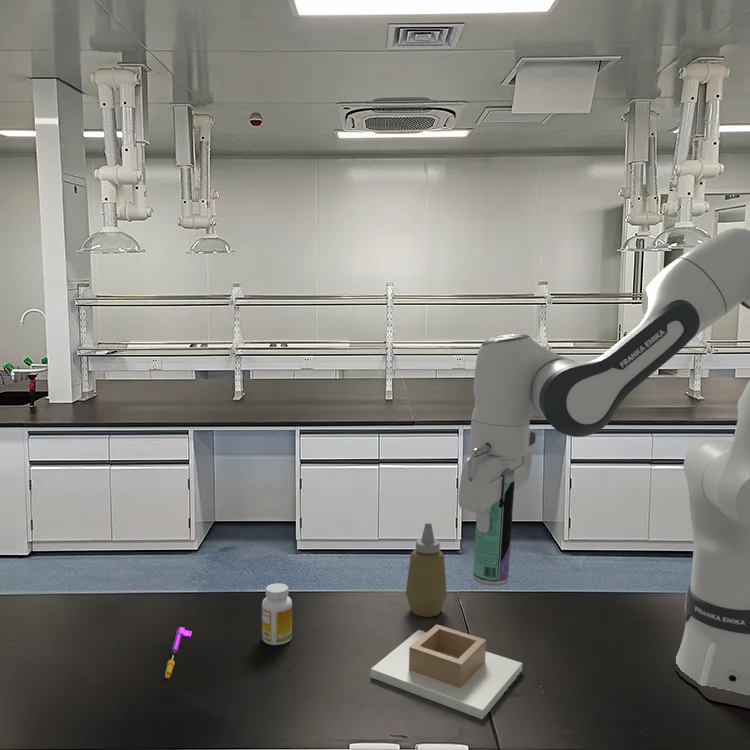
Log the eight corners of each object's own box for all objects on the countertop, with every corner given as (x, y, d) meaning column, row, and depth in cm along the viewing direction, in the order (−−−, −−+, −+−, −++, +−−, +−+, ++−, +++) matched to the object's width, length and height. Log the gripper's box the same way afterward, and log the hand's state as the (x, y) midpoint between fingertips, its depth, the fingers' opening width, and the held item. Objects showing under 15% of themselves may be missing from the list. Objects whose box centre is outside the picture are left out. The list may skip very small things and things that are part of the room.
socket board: (521, 671, 120) (523, 640, 120) (482, 719, 107) (483, 685, 106) (418, 637, 131) (419, 609, 130) (370, 677, 118) (371, 645, 117)
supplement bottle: (294, 632, 132) (295, 582, 131) (288, 647, 127) (288, 595, 126) (266, 630, 133) (266, 580, 131) (258, 644, 128) (258, 593, 126)
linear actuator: (176, 631, 132) (162, 680, 116) (178, 625, 132) (164, 673, 116) (191, 633, 132) (179, 682, 117) (192, 627, 132) (180, 676, 117)
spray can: (514, 583, 112) (522, 459, 109) (483, 587, 110) (491, 461, 107) (496, 570, 117) (504, 450, 114) (466, 573, 115) (474, 452, 112)
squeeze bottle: (399, 605, 144) (401, 519, 142) (435, 599, 147) (438, 515, 144) (415, 623, 136) (417, 532, 134) (453, 617, 139) (456, 528, 137)
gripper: (491, 454, 100) (484, 549, 102) (540, 431, 117) (534, 512, 119) (450, 447, 103) (445, 539, 105) (504, 425, 120) (499, 504, 122)
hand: (493, 524), depth 112 cm, fingers closed on spray can, 5 cm apart
